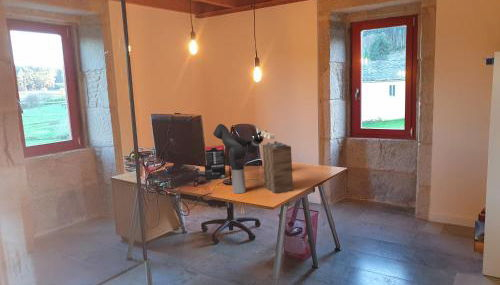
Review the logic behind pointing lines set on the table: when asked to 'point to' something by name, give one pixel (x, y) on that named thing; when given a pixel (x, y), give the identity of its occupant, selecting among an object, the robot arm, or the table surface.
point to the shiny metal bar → (267, 134)
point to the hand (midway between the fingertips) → (263, 132)
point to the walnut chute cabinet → (278, 167)
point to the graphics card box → (215, 162)
